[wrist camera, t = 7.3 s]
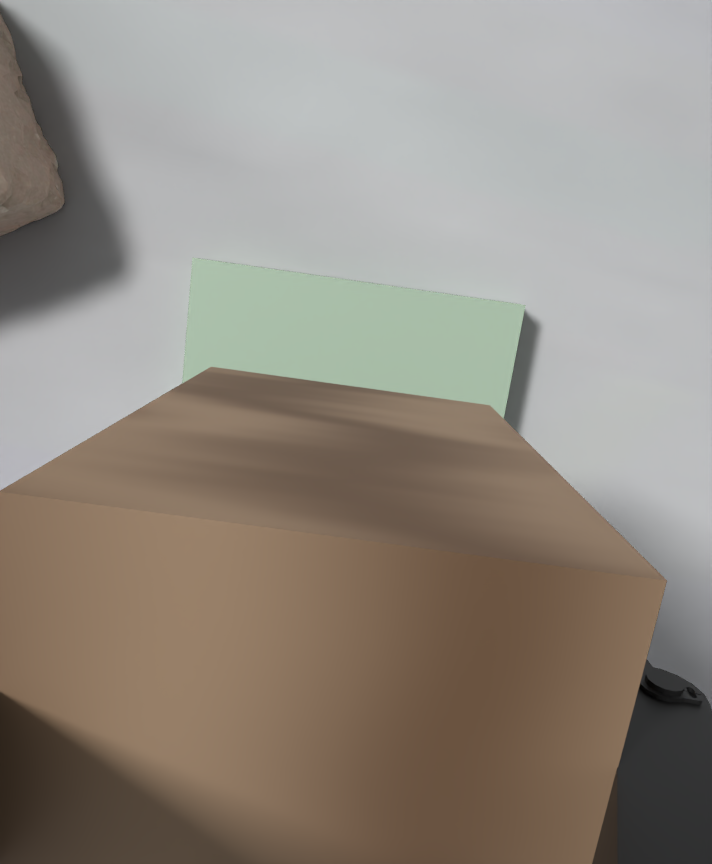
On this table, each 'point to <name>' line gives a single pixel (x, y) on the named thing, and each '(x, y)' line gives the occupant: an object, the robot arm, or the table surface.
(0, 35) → the brick
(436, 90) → the table surface
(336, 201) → the table surface
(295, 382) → the walnut block
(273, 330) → the pad
